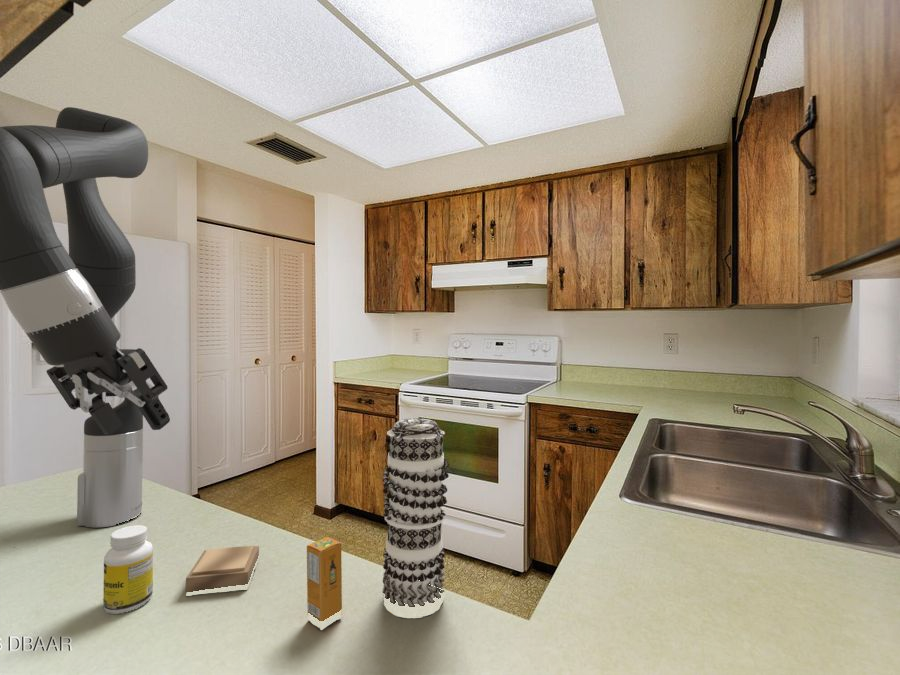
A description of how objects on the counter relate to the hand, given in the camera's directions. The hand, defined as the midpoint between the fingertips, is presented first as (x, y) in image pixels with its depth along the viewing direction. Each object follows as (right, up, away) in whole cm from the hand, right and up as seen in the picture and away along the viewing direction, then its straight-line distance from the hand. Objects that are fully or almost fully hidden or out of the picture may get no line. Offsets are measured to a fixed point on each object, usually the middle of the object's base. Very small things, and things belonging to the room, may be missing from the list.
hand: (138, 428), depth 57 cm
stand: (+7, -24, +9) cm, 27 cm away
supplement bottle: (-3, -24, +3) cm, 25 cm away
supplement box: (+24, -25, 0) cm, 35 cm away
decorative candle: (+36, -25, +4) cm, 44 cm away
